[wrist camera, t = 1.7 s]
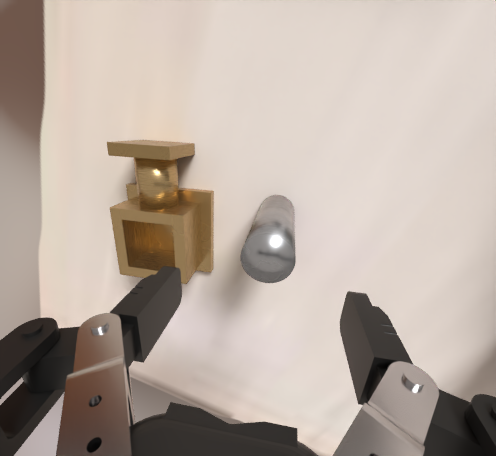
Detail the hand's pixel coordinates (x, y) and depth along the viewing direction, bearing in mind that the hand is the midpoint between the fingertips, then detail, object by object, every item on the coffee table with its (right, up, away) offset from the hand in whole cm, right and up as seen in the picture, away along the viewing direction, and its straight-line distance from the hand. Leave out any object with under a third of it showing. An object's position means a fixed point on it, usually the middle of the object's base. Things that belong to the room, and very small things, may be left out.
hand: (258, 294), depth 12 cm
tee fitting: (-8, +5, +14) cm, 18 cm away
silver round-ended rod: (+2, +5, +13) cm, 14 cm away
